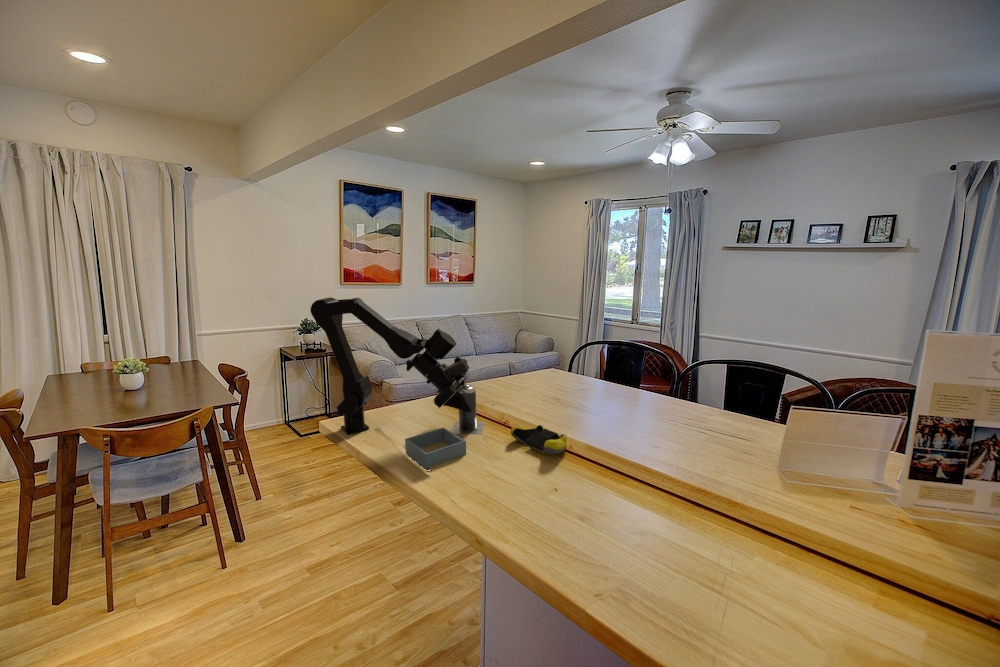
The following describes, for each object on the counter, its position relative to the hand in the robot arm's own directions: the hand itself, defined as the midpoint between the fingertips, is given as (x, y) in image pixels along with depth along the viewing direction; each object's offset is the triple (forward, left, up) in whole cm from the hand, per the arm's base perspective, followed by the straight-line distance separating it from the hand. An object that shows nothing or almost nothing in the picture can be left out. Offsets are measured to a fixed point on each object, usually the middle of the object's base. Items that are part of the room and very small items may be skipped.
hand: (472, 407), depth 125 cm
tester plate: (-1, -1, -7) cm, 7 cm away
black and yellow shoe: (+21, +7, -7) cm, 23 cm away
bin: (+7, -16, -7) cm, 19 cm away
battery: (-1, -1, -6) cm, 6 cm away
